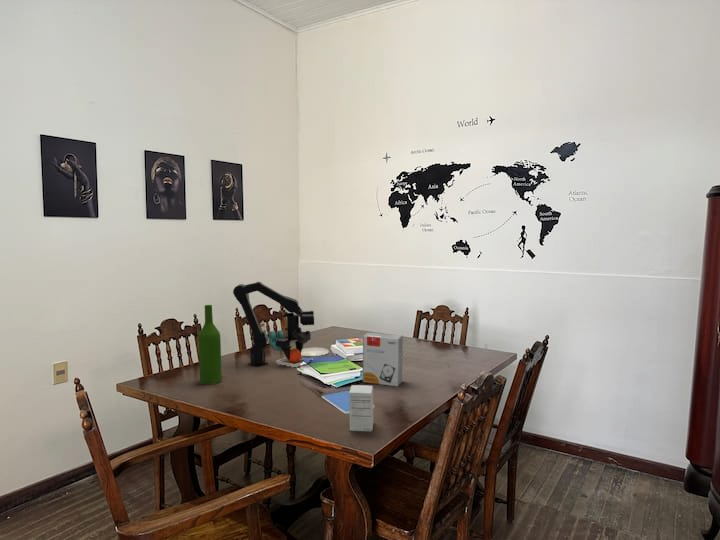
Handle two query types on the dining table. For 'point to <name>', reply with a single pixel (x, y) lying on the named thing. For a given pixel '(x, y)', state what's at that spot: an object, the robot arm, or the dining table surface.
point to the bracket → (273, 338)
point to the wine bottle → (209, 350)
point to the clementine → (294, 355)
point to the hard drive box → (382, 358)
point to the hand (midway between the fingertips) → (293, 357)
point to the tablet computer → (339, 401)
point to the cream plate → (314, 351)
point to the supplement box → (361, 408)
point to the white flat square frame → (287, 363)
